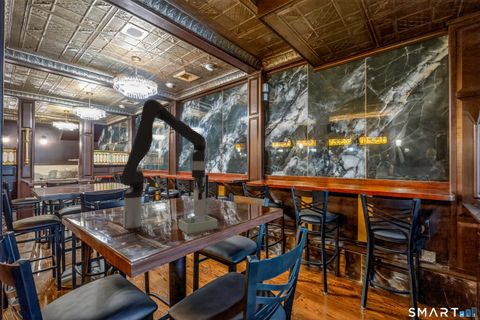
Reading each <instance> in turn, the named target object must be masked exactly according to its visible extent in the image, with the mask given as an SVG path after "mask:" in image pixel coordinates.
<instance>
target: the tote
mask: <svg viewBox="0 0 480 320" xmlns="http://www.w3.org/2000/svg"><path fill="white" fill-rule="evenodd" d="M204 217H205V222H198V223H192V224H191V217H187V218H180V219H178V229H179V230H180V231H182V232H184V233H185V234H186V235H190V234H196V233H197V234H198V233H201V232H206V231H211V230H212V231H213V230H217V229H218V224H219V223H218V219H217V218H214V217H212V216H210V215H206V216H204Z"/></svg>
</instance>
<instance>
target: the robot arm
mask: <svg viewBox="0 0 480 320" xmlns="http://www.w3.org/2000/svg"><path fill="white" fill-rule="evenodd" d="M156 118H157V119H158V120H161V121H163V122H164V123H165V124H167V125H168V126H169V127H170V128H171V129H172V130H174V132H175V133H177V134H178V135H180V136H181V137H182V138H184V139H186V140H187V141H188V142H189V143H191V144H192V145H193V152H192V153H191V154H192V156H191V157H192V163H191V178H193V180H192V181H191V187H192V189H191V190H192V191H193V192H194V189H195V188H197V189H198V200H202V193H203V192H204V190H205V182H203V178H204V177H205V174H206V163H205V159H206V158H205V157H206V154H205V151H206V138H205V137H204V136H203V135H202V134H200V133H199V132H198V131H196V130H194V129H193V128H192V127H190V126H189V125H188V124H187V123H185V122H184V121H182V120H181V119H179V118H178V117H176V116H175V115H174V114H173V113H171V112H170V111H169V110H168V109H167V108H166V107H165V106H164V105H163V104H162V103H161V102H159V101H158V100H155V99H152V98H149V99H147V100H146V101H145V102H144V103H143V106H142V111H141V116H140V119H139V120H140V121H139V124H138V127H137V130H136V133H135V138H134V140H133V144H132V146H131V149H130V153H129V156H128V158H127V160H126V163H125V166H124V168H123V170H122V173H121V177H120V180H121V183H122V184H123V185H124V186H126V187H129V188H128V189H127V190H126V191H125V192H124V195H123V211H122V212H123V213H122V227H123V229H125V230H126V229H128V230H129V229H136V228H140V227H141V226H142V201H143V200H142V195H143V192H144V183H145V176H144V173H143V171H142V170H141V169H138V168H139V165H140V163H141V162H142V161H143V159H144V158H145V157H146V156H147V155H148V154H149V153H150V149H151V147H152V143H153V138H154V137H153V125H154V122H155V120H156ZM199 189H200V190H199Z"/></svg>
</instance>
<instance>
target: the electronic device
mask: <svg viewBox="0 0 480 320" xmlns="http://www.w3.org/2000/svg"><path fill="white" fill-rule="evenodd" d="M209 177H210V175H209V173H205V177H204V178H203V182H205V190H204V192H203V193H202V201H195V203H194V210H193V216H198V215H201V216H209V215H210V198H209V190H210V189H209V186H210V185H209V182H210V181H209V180H210V179H209Z"/></svg>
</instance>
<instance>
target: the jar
mask: <svg viewBox="0 0 480 320" xmlns="http://www.w3.org/2000/svg"><path fill="white" fill-rule="evenodd" d="M199 190H200V189H199ZM193 201H202V200H198V189H197V188H195V189H194V191H193Z"/></svg>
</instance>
